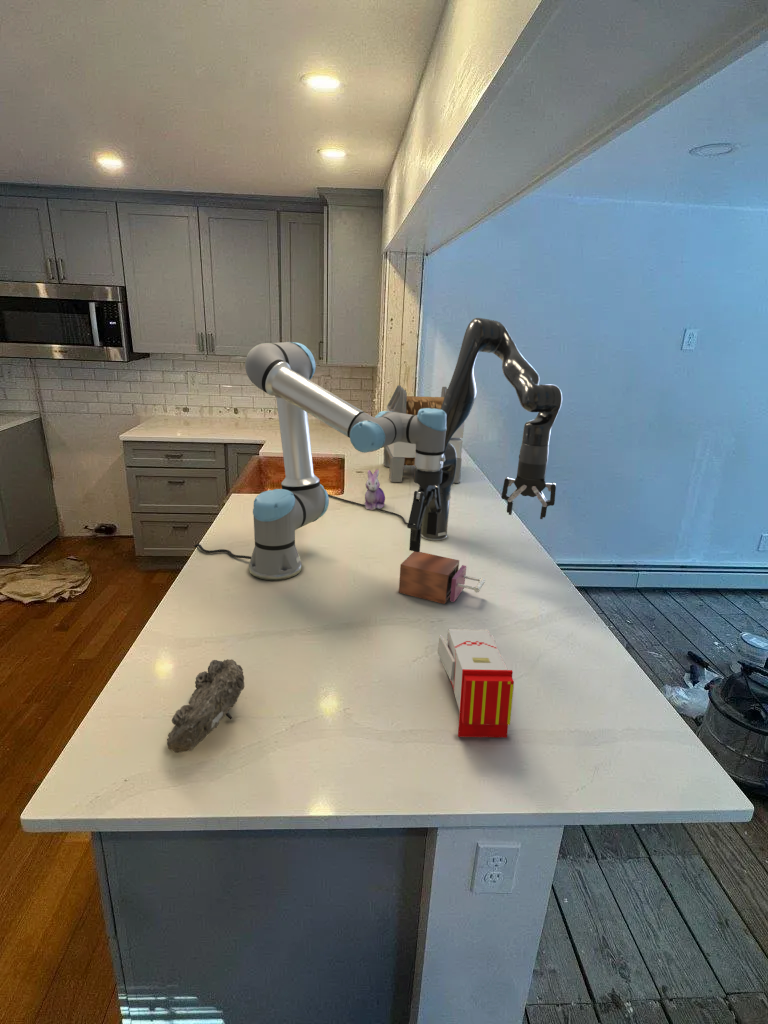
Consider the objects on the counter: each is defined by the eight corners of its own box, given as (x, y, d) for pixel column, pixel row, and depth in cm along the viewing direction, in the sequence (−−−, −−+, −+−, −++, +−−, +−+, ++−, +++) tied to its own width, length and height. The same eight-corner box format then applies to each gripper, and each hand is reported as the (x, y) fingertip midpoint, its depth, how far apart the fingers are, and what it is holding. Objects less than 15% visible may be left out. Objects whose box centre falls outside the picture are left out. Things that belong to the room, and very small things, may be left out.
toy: (488, 613, 130) (523, 677, 101) (484, 667, 133) (517, 744, 104) (435, 612, 130) (455, 676, 101) (432, 666, 133) (451, 743, 103)
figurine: (369, 511, 219) (370, 474, 214) (358, 503, 228) (359, 467, 223) (390, 509, 224) (392, 472, 219) (378, 501, 232) (380, 465, 227)
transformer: (382, 463, 289) (386, 382, 275) (445, 464, 293) (451, 384, 279) (390, 482, 257) (394, 392, 243) (460, 483, 261) (468, 394, 247)
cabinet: (456, 587, 163) (459, 560, 160) (445, 604, 154) (447, 575, 151) (412, 577, 168) (414, 550, 165) (398, 592, 159) (400, 564, 156)
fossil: (192, 660, 117) (244, 628, 112) (224, 691, 120) (276, 661, 115) (142, 746, 98) (202, 712, 93) (182, 779, 101) (242, 748, 96)
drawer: (485, 592, 159) (487, 570, 157) (476, 607, 151) (478, 584, 148) (423, 577, 166) (425, 556, 163) (411, 591, 158) (412, 569, 155)
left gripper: (425, 482, 138) (420, 561, 145) (456, 460, 159) (449, 530, 166) (397, 477, 140) (393, 555, 148) (430, 456, 162) (425, 525, 169)
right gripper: (560, 459, 154) (552, 515, 160) (507, 453, 158) (501, 508, 163) (560, 466, 147) (551, 524, 153) (504, 459, 151) (498, 516, 157)
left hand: (423, 542), depth 157 cm, fingers open, 13 cm apart
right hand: (525, 516), depth 158 cm, fingers open, 8 cm apart
